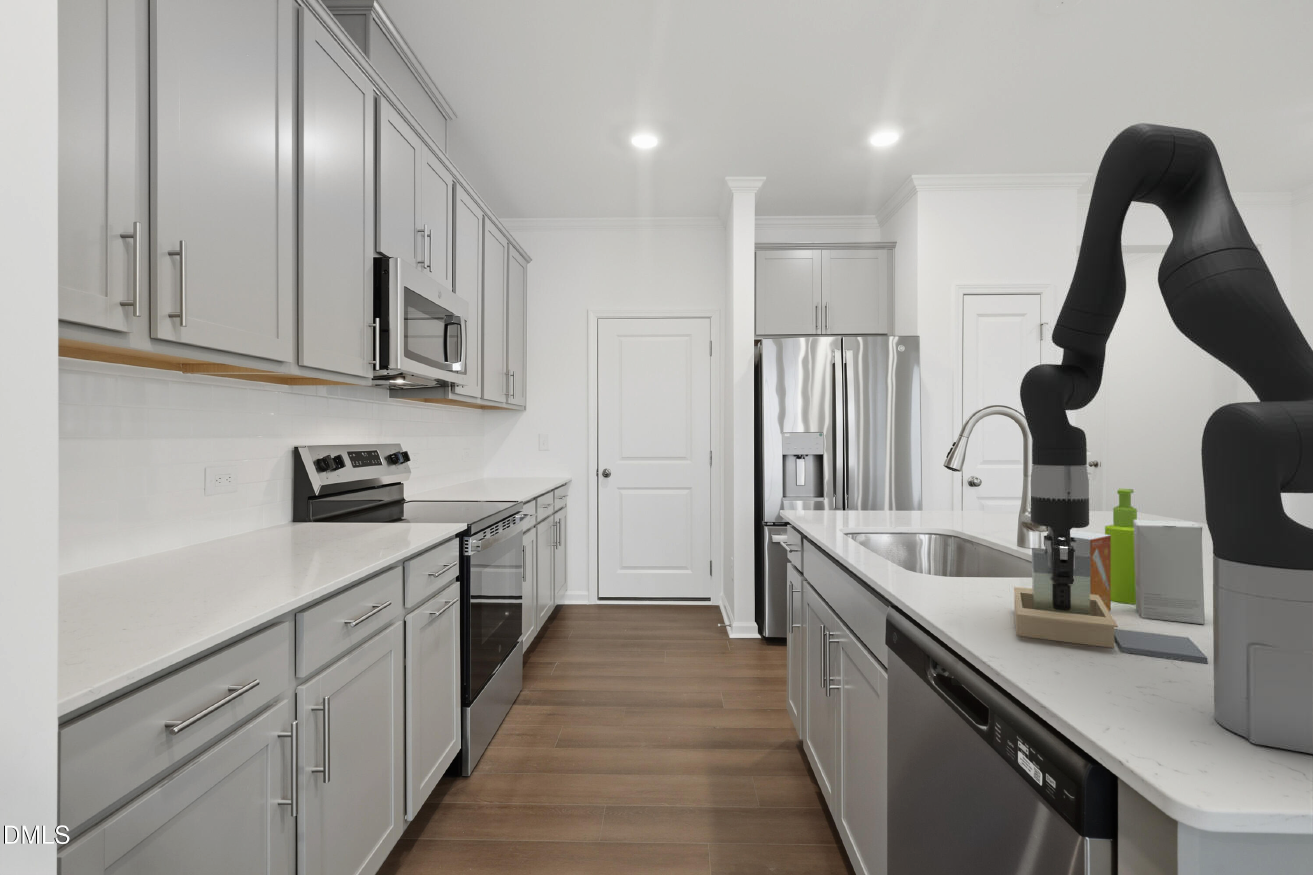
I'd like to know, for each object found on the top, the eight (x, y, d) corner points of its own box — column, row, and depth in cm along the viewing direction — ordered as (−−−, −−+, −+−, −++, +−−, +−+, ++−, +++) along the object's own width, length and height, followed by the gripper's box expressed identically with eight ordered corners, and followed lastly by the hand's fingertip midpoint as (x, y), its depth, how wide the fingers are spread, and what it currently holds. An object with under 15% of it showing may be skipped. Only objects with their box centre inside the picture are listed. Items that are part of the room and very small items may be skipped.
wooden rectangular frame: (1118, 654, 83) (1117, 625, 83) (1017, 641, 89) (1017, 613, 89) (1098, 619, 98) (1098, 595, 98) (1014, 610, 104) (1013, 586, 104)
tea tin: (1090, 637, 90) (1089, 556, 90) (1034, 630, 93) (1033, 552, 93) (1086, 629, 94) (1085, 551, 94) (1032, 622, 97) (1031, 547, 97)
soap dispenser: (1148, 598, 111) (1147, 488, 111) (1144, 606, 106) (1143, 491, 106) (1108, 592, 115) (1107, 487, 115) (1103, 600, 110) (1102, 489, 110)
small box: (1091, 619, 99) (1090, 539, 99) (1048, 610, 104) (1048, 534, 104) (1112, 610, 103) (1111, 534, 103) (1070, 602, 109) (1070, 529, 109)
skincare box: (1197, 615, 100) (1196, 521, 100) (1206, 626, 95) (1205, 526, 95) (1133, 608, 105) (1132, 517, 105) (1138, 618, 99) (1137, 522, 99)
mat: (1207, 663, 79) (1207, 657, 79) (1121, 652, 84) (1121, 646, 84) (1188, 642, 87) (1188, 637, 87) (1110, 633, 92) (1110, 628, 92)
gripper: (1095, 499, 85) (1096, 621, 86) (1082, 491, 98) (1083, 597, 98) (1033, 497, 89) (1033, 614, 89) (1028, 489, 102) (1029, 592, 102)
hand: (1059, 604), depth 94 cm, fingers closed on tea tin, 4 cm apart
